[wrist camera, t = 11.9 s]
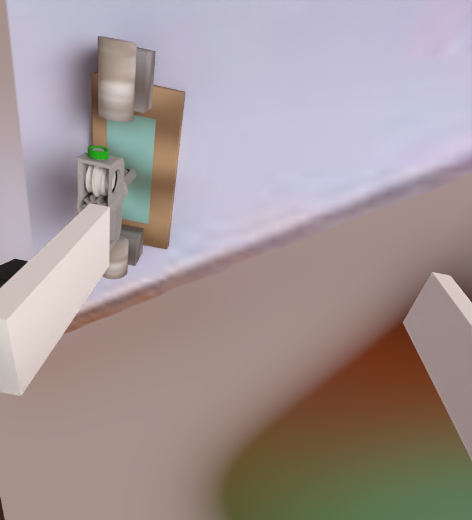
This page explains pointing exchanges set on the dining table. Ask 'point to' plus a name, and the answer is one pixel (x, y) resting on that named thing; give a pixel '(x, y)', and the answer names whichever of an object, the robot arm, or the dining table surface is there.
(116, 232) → the mechanical component
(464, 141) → the dining table surface
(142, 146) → the mint panel frame
